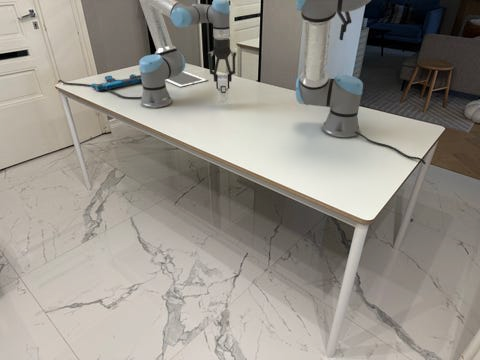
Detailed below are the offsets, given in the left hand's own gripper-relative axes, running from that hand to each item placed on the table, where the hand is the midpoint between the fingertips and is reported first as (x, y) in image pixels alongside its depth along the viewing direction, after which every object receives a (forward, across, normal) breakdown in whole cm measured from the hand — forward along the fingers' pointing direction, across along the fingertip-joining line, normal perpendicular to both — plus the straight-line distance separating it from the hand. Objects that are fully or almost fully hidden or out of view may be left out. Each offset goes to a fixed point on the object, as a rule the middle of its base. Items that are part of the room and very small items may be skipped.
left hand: (222, 87), depth 169 cm
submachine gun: (+10, -63, +43) cm, 77 cm away
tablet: (+10, -28, +52) cm, 59 cm away
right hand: (-22, +50, +2) cm, 55 cm away
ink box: (+6, 0, 0) cm, 6 cm away
